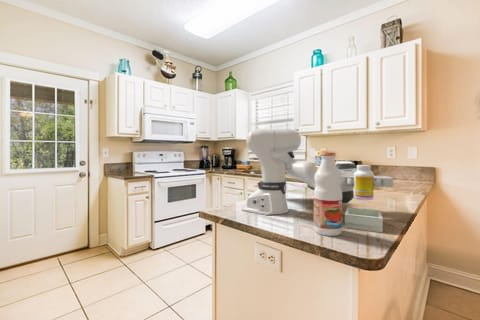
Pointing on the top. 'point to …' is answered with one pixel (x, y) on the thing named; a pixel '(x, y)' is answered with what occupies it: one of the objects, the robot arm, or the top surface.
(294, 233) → the top surface
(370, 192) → the supplement bottle
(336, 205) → the fruit juice
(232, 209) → the top surface
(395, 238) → the top surface
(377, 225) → the sage tray
